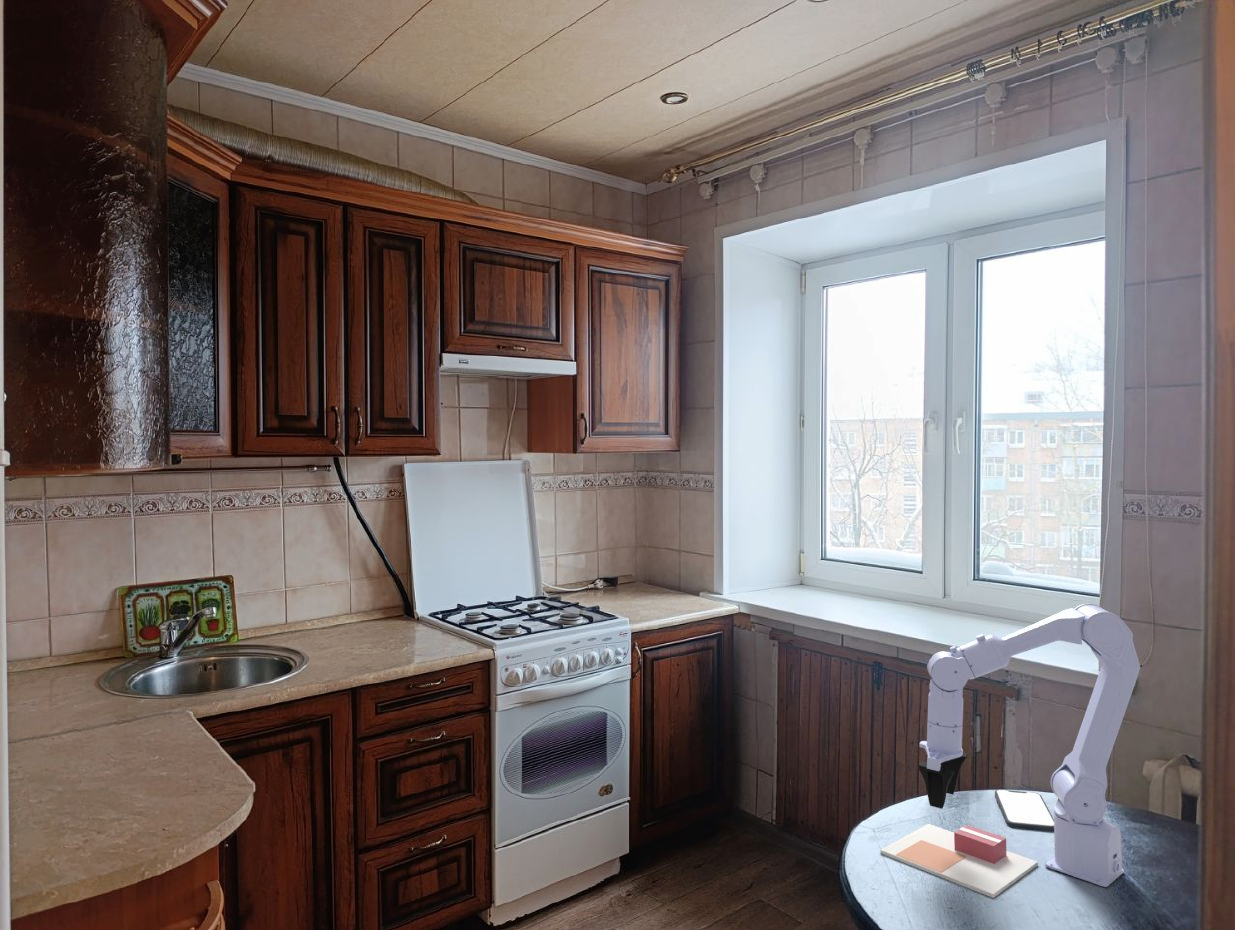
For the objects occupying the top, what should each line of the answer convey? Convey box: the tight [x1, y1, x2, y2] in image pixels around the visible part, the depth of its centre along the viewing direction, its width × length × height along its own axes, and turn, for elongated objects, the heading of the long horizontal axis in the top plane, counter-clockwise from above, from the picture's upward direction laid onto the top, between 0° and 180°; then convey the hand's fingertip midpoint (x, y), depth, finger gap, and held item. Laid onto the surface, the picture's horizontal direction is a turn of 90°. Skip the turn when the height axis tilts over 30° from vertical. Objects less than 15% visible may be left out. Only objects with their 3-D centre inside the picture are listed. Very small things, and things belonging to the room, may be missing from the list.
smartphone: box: [994, 789, 1054, 833], centre depth 158 cm, size 9×2×16 cm
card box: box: [954, 824, 1007, 864], centre depth 141 cm, size 7×4×3 cm, turn 40°
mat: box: [880, 823, 1039, 899], centre depth 140 cm, size 20×16×1 cm
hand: (942, 799), depth 142 cm, fingers open, 7 cm apart
